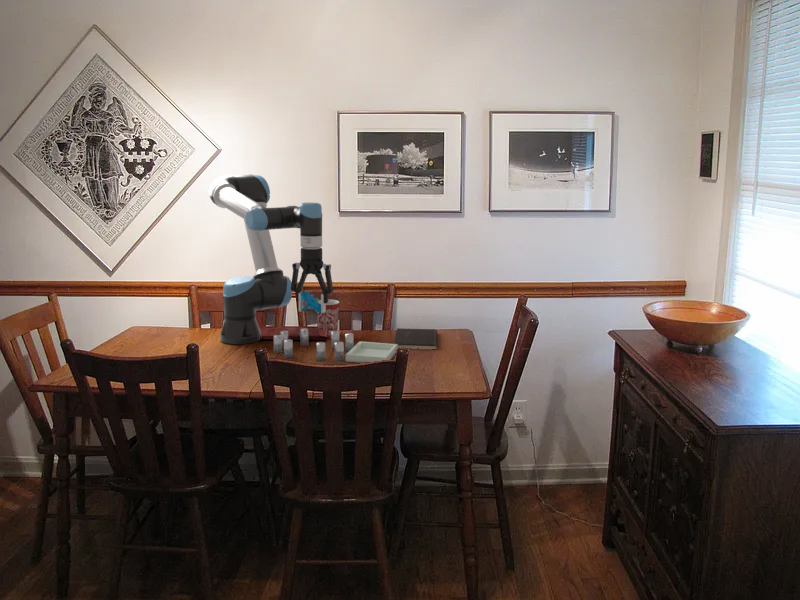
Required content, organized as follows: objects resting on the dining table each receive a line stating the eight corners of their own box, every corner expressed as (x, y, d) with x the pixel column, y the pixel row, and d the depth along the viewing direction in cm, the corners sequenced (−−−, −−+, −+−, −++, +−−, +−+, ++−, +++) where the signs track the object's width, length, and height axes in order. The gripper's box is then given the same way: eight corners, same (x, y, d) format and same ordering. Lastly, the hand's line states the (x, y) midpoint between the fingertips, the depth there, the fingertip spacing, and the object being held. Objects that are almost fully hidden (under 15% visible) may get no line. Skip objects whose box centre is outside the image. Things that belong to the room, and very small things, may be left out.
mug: (336, 339, 277) (335, 304, 274) (313, 337, 278) (312, 303, 275) (344, 331, 289) (344, 298, 286) (322, 329, 290) (322, 296, 287)
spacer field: (266, 356, 253) (266, 340, 252) (287, 342, 271) (286, 327, 270) (340, 362, 247) (340, 345, 246) (356, 347, 265) (356, 332, 264)
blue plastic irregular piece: (317, 311, 249) (299, 289, 250) (305, 322, 251) (287, 301, 252) (329, 309, 260) (311, 288, 261) (317, 319, 261) (300, 299, 263)
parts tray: (345, 361, 249) (345, 354, 248) (359, 347, 265) (359, 341, 265) (386, 364, 246) (386, 357, 245) (397, 350, 262) (397, 344, 262)
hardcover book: (393, 350, 265) (393, 343, 265) (396, 333, 288) (396, 328, 287) (437, 351, 264) (437, 345, 264) (436, 334, 287) (437, 329, 286)
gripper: (279, 247, 250) (281, 311, 255) (336, 250, 245) (336, 315, 250) (287, 244, 257) (289, 307, 262) (342, 247, 252) (343, 310, 257)
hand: (312, 311), depth 256 cm, fingers closed on blue plastic irregular piece, 8 cm apart
